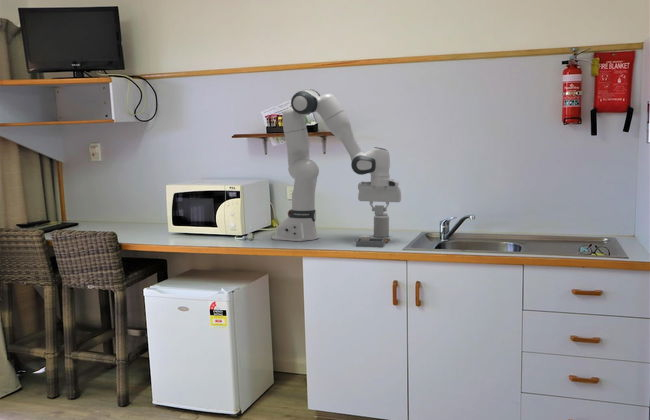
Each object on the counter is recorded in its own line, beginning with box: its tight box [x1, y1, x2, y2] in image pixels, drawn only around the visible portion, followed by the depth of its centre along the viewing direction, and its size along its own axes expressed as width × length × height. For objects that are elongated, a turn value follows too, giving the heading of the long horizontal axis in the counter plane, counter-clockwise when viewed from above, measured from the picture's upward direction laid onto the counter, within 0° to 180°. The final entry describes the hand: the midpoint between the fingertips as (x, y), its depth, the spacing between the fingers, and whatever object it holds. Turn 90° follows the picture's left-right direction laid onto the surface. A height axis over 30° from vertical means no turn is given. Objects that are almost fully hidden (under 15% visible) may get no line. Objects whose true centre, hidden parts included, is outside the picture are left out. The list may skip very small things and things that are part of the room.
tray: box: [380, 237, 390, 245], centre depth 295 cm, size 14×11×1 cm
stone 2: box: [374, 204, 385, 216], centre depth 294 cm, size 4×4×4 cm
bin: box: [355, 237, 386, 249], centre depth 283 cm, size 12×9×3 cm
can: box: [373, 212, 390, 238], centre depth 308 cm, size 8×8×12 cm
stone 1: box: [359, 235, 371, 241], centre depth 284 cm, size 4×4×4 cm
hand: (379, 211), depth 294 cm, fingers closed on stone 2, 4 cm apart
